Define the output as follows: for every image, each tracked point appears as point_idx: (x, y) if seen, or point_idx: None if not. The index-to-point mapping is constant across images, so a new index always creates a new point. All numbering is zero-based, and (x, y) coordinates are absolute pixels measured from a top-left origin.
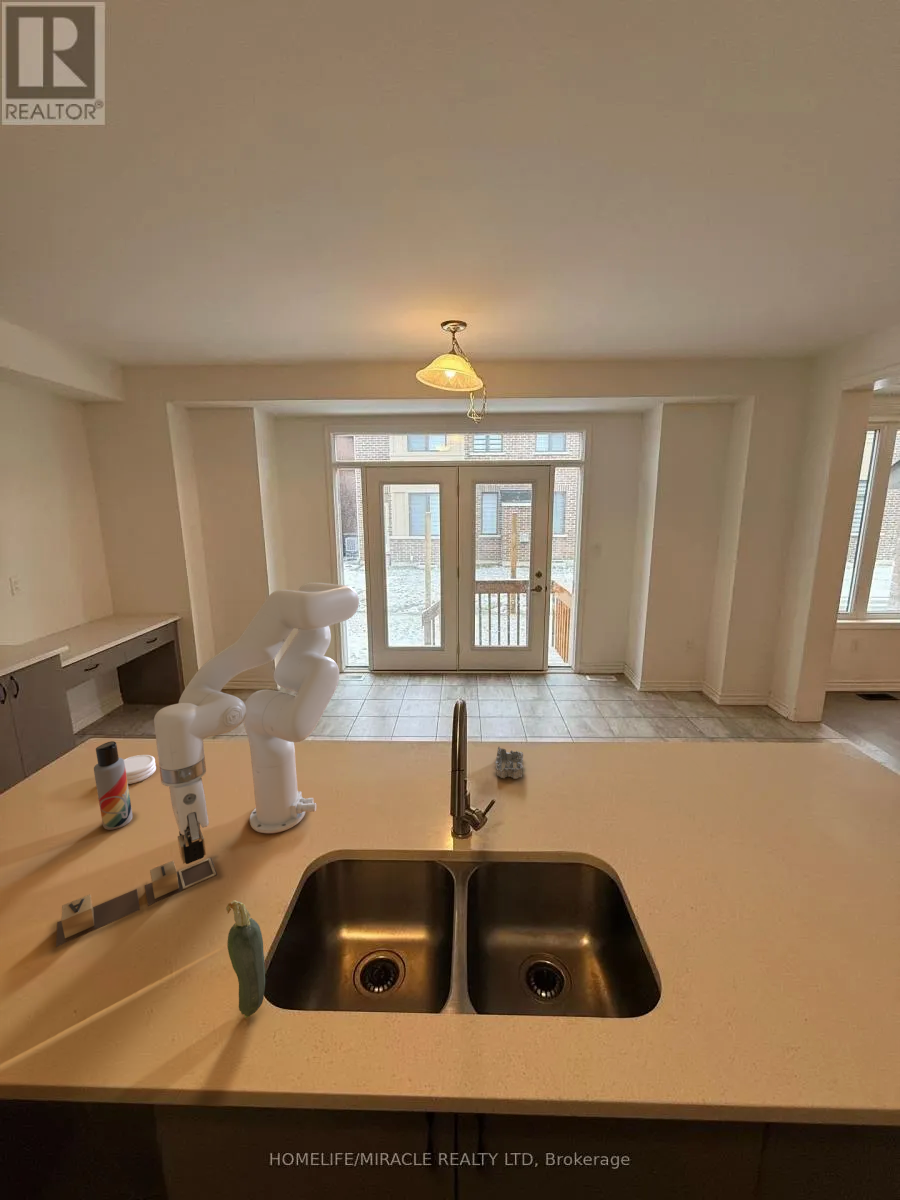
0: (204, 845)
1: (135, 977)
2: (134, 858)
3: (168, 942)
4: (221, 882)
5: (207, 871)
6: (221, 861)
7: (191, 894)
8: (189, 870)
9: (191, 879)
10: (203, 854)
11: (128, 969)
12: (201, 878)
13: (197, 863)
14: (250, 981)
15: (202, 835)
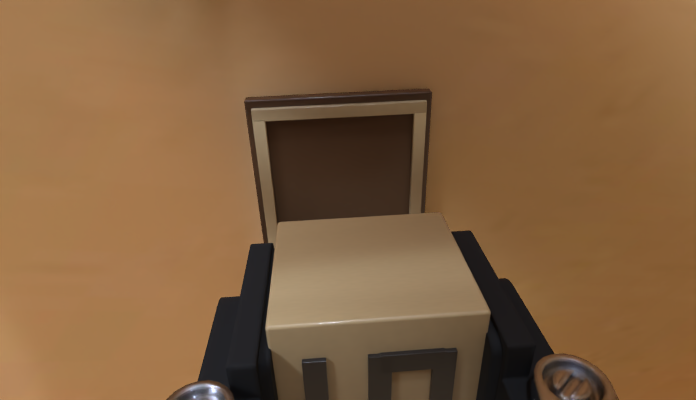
0: (463, 262)
1: (686, 368)
2: (49, 389)
3: (643, 297)
4: (488, 78)
5: (362, 137)
6: (304, 45)
7: (461, 214)
8: (292, 213)
9: (371, 212)
10: (477, 242)
11: (639, 382)
12: (400, 171)
13: (265, 178)
14: None
15: (424, 318)
